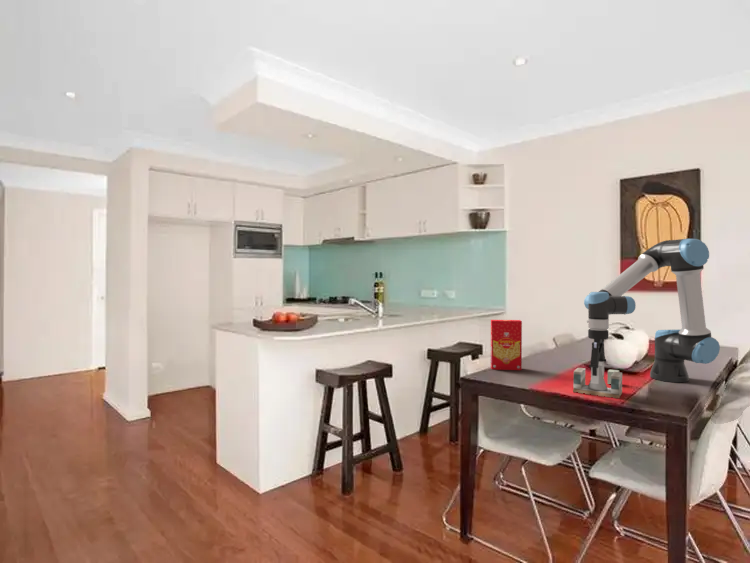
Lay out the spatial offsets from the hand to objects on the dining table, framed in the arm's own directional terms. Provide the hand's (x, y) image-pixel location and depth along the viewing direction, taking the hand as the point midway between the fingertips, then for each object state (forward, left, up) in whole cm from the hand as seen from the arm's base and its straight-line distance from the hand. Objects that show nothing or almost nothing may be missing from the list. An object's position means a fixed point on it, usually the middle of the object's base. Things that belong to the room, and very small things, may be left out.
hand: (597, 380), depth 188 cm
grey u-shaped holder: (0, 0, -5) cm, 5 cm away
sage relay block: (-4, -19, -5) cm, 20 cm away
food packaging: (+46, -23, -5) cm, 52 cm away
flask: (0, 0, -4) cm, 4 cm away
